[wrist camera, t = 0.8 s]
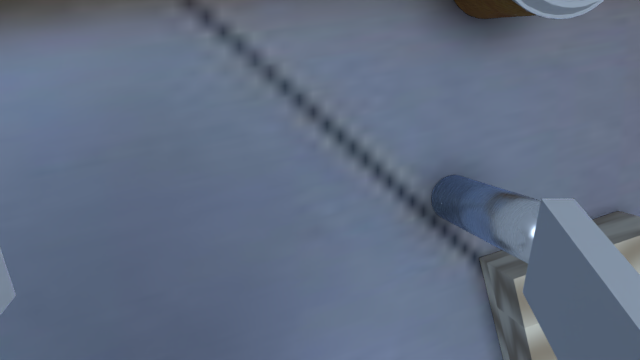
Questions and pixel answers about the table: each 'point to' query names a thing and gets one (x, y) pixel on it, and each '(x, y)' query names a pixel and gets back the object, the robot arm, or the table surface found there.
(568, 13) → the disposable coffee cup
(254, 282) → the table surface
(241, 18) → the table surface
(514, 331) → the bore block
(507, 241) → the peg
